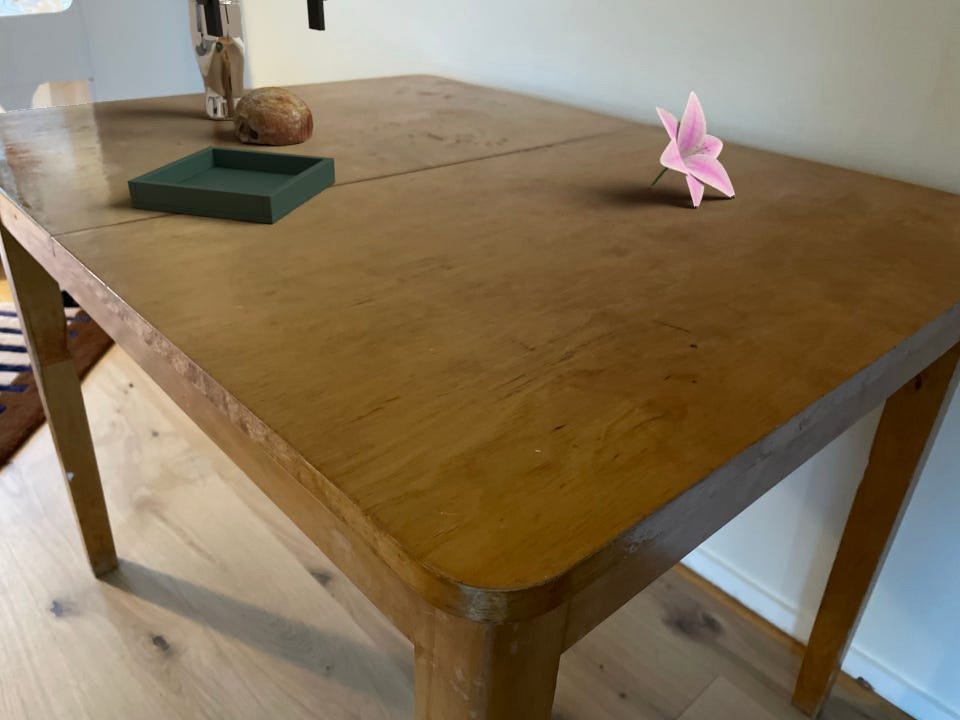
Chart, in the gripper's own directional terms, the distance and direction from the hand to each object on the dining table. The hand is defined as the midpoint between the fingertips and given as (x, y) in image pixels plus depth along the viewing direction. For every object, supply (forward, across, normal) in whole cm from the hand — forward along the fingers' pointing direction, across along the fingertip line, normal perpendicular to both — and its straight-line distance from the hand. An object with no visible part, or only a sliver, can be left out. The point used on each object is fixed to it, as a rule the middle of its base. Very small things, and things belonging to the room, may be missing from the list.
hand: (268, 33), depth 95 cm
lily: (+13, +22, -47) cm, 54 cm away
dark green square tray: (+12, -15, -20) cm, 28 cm away
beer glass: (+13, 0, +15) cm, 20 cm away
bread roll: (+13, 0, 0) cm, 13 cm away
